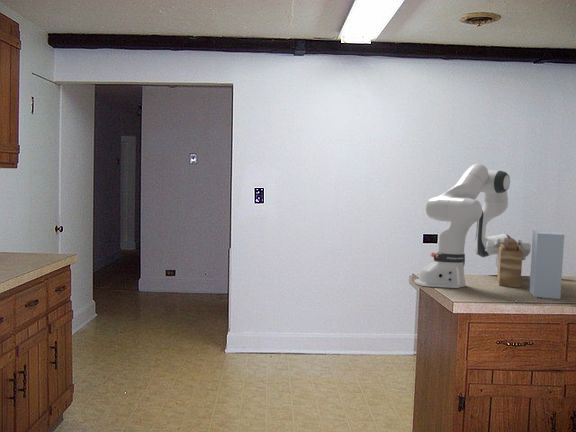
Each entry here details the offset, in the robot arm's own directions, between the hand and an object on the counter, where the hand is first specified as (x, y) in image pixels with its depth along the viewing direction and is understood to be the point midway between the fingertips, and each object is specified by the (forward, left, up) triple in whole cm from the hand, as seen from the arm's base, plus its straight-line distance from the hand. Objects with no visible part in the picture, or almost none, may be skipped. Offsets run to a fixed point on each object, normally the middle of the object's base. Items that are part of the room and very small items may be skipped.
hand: (509, 241), depth 283 cm
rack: (-3, -8, -19) cm, 21 cm away
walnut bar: (-2, -6, -3) cm, 7 cm away
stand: (+1, -33, -19) cm, 38 cm away
